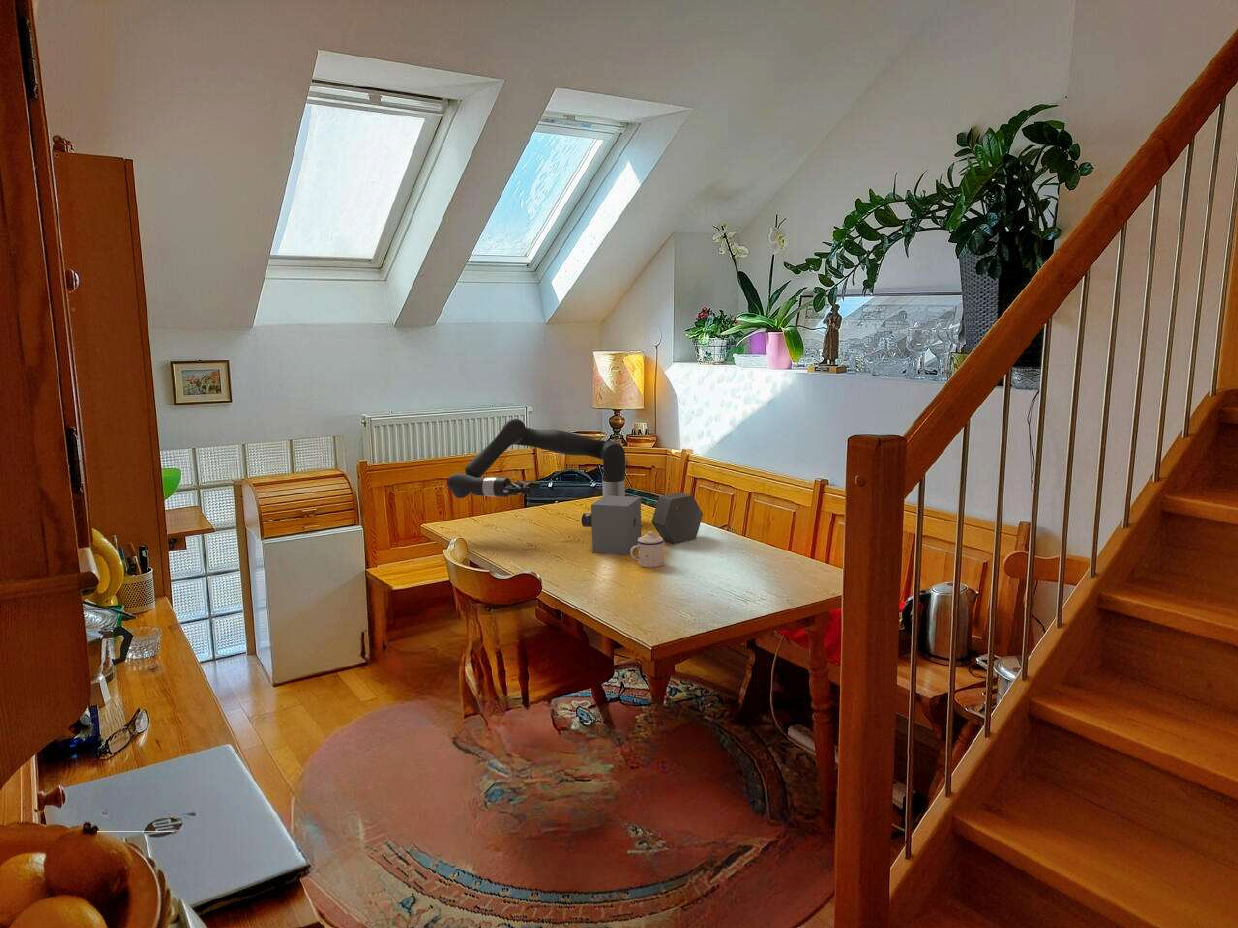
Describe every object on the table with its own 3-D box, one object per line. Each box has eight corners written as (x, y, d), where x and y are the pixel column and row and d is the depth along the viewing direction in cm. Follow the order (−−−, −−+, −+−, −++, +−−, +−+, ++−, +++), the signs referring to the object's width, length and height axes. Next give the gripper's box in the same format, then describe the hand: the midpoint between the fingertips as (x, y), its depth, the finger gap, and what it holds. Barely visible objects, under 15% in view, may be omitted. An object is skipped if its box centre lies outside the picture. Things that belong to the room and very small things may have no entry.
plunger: (586, 524, 326) (586, 511, 325) (634, 527, 320) (634, 514, 319) (581, 527, 321) (581, 514, 320) (630, 530, 315) (629, 517, 314)
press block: (606, 541, 330) (605, 495, 327) (641, 543, 326) (640, 496, 323) (592, 552, 315) (590, 504, 312) (628, 554, 311) (627, 506, 308)
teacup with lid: (658, 559, 304) (657, 527, 302) (668, 566, 296) (667, 533, 294) (626, 563, 301) (625, 531, 299) (635, 570, 292) (634, 537, 290)
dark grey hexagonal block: (696, 520, 339) (673, 481, 329) (709, 524, 333) (686, 484, 323) (668, 549, 332) (644, 511, 323) (681, 554, 326) (657, 514, 317)
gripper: (487, 481, 325) (527, 482, 320) (504, 473, 338) (542, 474, 333) (489, 500, 326) (528, 501, 321) (505, 492, 339) (543, 493, 334)
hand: (535, 488), depth 327 cm, fingers open, 8 cm apart
